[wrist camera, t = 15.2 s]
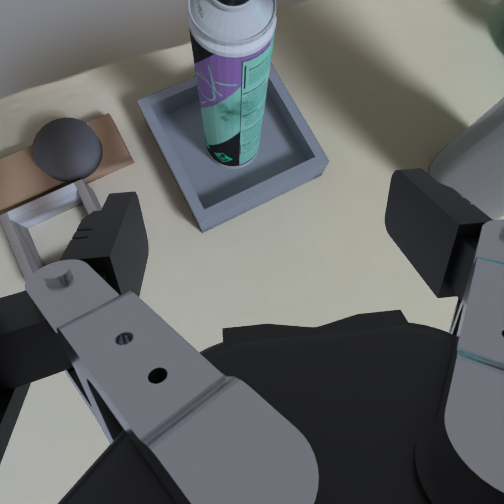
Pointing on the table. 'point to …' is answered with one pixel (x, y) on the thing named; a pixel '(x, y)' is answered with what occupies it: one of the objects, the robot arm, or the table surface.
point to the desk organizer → (56, 178)
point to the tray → (232, 180)
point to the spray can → (232, 73)
